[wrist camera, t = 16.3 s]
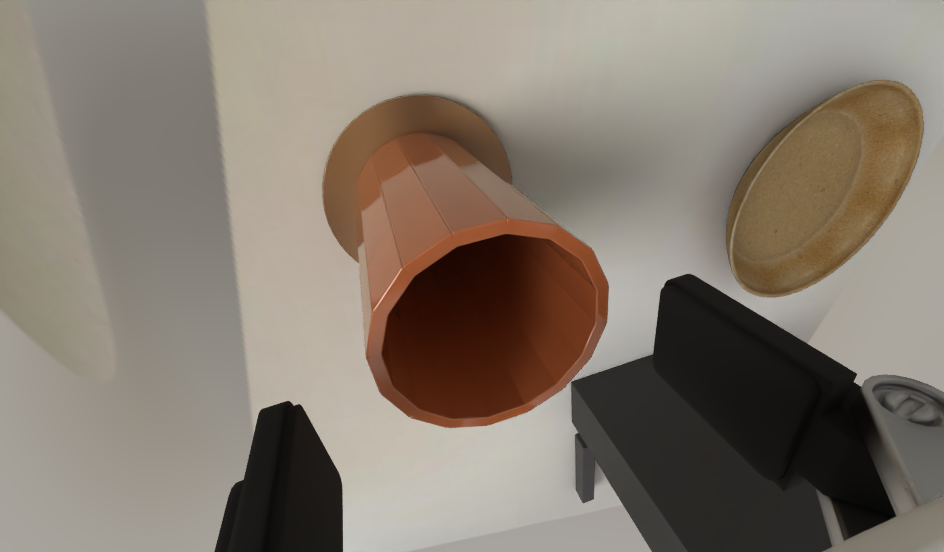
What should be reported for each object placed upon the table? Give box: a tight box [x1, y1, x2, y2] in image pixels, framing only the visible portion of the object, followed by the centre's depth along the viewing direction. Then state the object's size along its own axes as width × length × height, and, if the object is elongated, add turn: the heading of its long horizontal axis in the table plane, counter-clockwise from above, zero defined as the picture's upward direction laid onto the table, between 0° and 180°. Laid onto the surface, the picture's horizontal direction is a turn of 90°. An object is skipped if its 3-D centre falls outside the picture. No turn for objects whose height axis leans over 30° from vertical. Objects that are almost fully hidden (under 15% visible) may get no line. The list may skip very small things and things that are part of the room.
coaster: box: [322, 95, 512, 263], centre depth 21 cm, size 10×10×1 cm
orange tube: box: [355, 132, 609, 428], centre depth 16 cm, size 7×7×12 cm
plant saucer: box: [726, 80, 924, 298], centre depth 27 cm, size 15×15×3 cm
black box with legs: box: [571, 355, 832, 552], centre depth 29 cm, size 13×16×20 cm
